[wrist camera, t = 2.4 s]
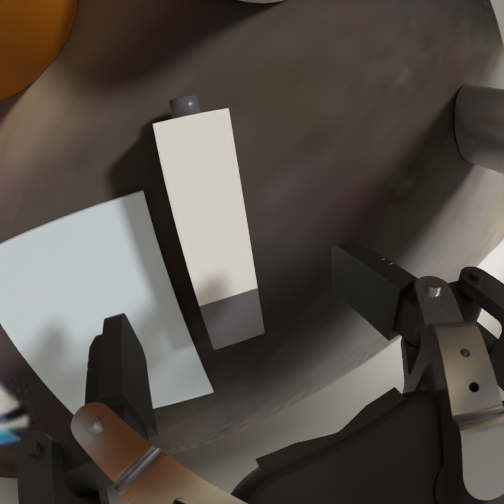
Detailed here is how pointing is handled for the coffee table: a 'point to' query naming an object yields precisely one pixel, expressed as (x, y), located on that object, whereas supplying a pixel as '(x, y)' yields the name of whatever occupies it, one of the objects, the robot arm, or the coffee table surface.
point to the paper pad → (96, 300)
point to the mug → (31, 39)
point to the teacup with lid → (261, 1)
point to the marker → (210, 218)
